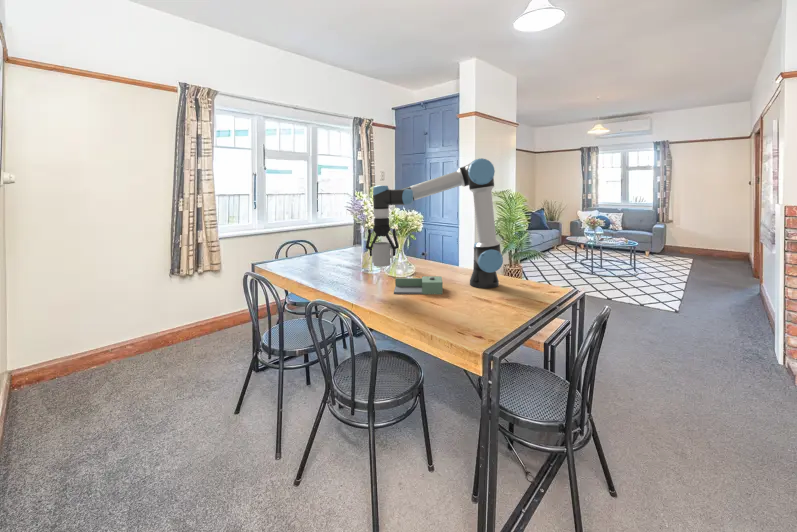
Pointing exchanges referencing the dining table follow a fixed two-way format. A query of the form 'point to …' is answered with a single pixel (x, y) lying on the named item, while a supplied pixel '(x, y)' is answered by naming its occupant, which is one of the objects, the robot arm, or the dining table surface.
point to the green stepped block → (419, 285)
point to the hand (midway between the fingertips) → (382, 262)
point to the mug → (381, 254)
